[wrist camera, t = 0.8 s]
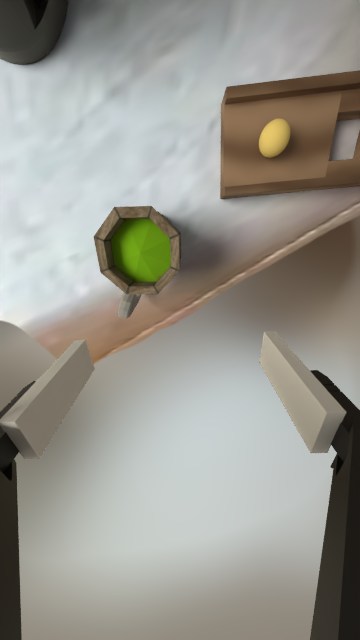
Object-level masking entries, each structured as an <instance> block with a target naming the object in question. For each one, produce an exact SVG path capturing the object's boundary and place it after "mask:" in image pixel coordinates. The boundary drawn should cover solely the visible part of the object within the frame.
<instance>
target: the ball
mask: <svg viewBox="0 0 360 640" xmlns="http://www.w3.org/2000/svg"><path fill="white" fill-rule="evenodd" d="M289 138H290V126H289V124H288V122H287V121H286V120H284V119H274V120H272V121H271V122H269V123H268V124H267V125H266V126H265V128H264V129H263V131H262V133H261V135H260V138H259V149H260V152H261V153H262V155H264V156H265V157H269V158H271V157H275V156H277V155H279V154H280V153H281V152H282V151H283V150H284V149H285V147H286V146H287V144H288V141H289Z"/></svg>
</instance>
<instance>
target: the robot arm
mask: <svg viewBox="0 0 360 640" xmlns="http://www.w3.org/2000/svg"><path fill="white" fill-rule="evenodd" d="M66 10H67V0H0V58H1V59H3V60H5V61H8V62H11V63H17V64H28V63H32V62H35V61H37V60H39V59H41V58H43V57H44V56H45V55H46V54H47V53H49V52H50V50H51V49H52V48H53V46H54V45H55V43H56V42H57V40H58V38H59V36H60V33H61V31H62V28H63V24H64V21H65V16H66ZM260 364H261V366H262V368H263V370H264V371H265V373H266V375H267V377H268V378H269V380H270V382H271V384H272V386H273V387H274V389H275V391H276V393H277V394H278V396H279V398H280V400H281V401H282V403H283V405H284V407H285V409H286V410H287V412H288V414H289V416H290V417H291V419H292V421H293V422H294V424H295V426H296V428H297V430H298V431H299V433H300V435H301V437H302V438H303V440H304V442H305V444H306V445H307V447H308V449H309V451H310V453H327V452H328V450H329V448H330V446H331V445H332V446H333V448H334V449H335V451H336V452H337V455H336V457H335V459H334V461H333V463H332V465H331V468H334V470H333V477H332V484H331V492H330V500H329V506H328V513H327V520H326V528H325V535H324V542H323V550H322V558H321V564H320V571H319V579H318V587H317V594H316V601H315V608H314V616H313V622H312V629H311V637H310V640H360V410H359V409H358V408H357V407H356V406H355V405H354V404H353V403H352V402H351V401H350V400H349V399H348V398H347V397H346V396H345V395H344V394H343V393H342V392H340V390H339V389H338V387H337V386H336V385H334V383H333V382H332V381H331V380H330V379H329V378H328V377H327V376H325V375H323V374H322V373H321V372H319V371H317V370H313V371H310V370H309V369H308V368H307V367H306V366H305V365H304V364H303V362H302V361H301V360H300V359H299V358H298V357H297V356H296V355H295V353H294V352H293V351H292V350H291V349H290V348H289V347H288V345H286V343H285V342H284V341H283V340H282V339H281V338H280V336H279V335H278V334H277V333H276V332H275V331H273V332H264V336H263V343H262V350H261V356H260ZM93 371H94V365H93V362H92V359H91V356H90V353H89V349H88V346H87V343H86V340H75V341H74V342H73V343H72V344H71V345H70V346H69V347H68V348H67V349H66V351H65V352H64V353H63V354H62V355H61V356H60V357H59V358H58V359H57V360H56V361H55V362H54V363H53V364H52V365H51V366H50V367H49V368H48V370H47V371H46V372H45V373H44V374H43V375H42V376H41V377H40V378H39V379H38V380H37V381H33V382H32V383H30V384H29V385H27V386H26V387H25V388H23V389H22V391H20V392H19V393H18V395H17V397H15V398H14V399H13V400H12V401H11V403H9V404H8V405H7V406H6V407H5V408H4V409H3V410H2V411H1V412H0V640H21V608H20V575H19V544H18V543H19V539H18V508H17V507H18V506H17V475H16V474H17V473H16V462H15V460H14V458H15V457H16V455H17V454H18V452H20V454H21V455H22V456H23V458H24V459H39V458H40V456H41V455H42V453H43V451H44V450H45V448H46V447H47V445H48V443H49V442H50V440H51V438H52V437H53V435H54V434H55V432H56V431H57V429H58V427H59V425H60V424H61V422H62V421H63V419H64V418H65V416H66V414H67V413H68V411H69V410H70V407H71V406H72V405H73V403H74V402H75V400H76V398H77V397H78V395H79V393H80V391H81V390H82V389H83V387H84V385H85V384H86V382H87V381H88V379H89V377H90V376H91V374H92V372H93Z"/></svg>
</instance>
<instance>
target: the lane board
mask: <svg viewBox="0 0 360 640" xmlns="http://www.w3.org/2000/svg"><path fill="white" fill-rule="evenodd" d="M359 118H360V71H352V72H344V73H336V74H328V75H320V76H312V77H303V78H295V79H287V80H279V81H271V82H263V83H255V84H246V85H238V86H230V87H226V91H225V94H224V97H223V101H222V104H221V191H220V199H226V198H237V197H248V196H258V195H269V194H279V193H290V192H300V191H311V190H322V189H332V188H343V187H353V186H360V132H359V136H358V140H357V144H356V148H355V152H354V157H353V159H346V160H337V161H329V156H330V151H331V146H332V141H333V136H334V131H335V125H336V121H341V120H350V119H359ZM274 119H284V120H286V121H287V122H288V124H289V126H290V138H289V141H288V144H287V146H286V147H285V149H284V150H283V151H282V152H281V153H280V154H279V155H277V156H275V157H271V158H269V157H265V156H264V155H262V153H261V152H260V149H259V138H260V135H261V133H262V131H263V129H264V128H265V126H266V125H267V124H268V123H269V122H271V121H272V120H274Z"/></svg>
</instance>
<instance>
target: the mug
mask: <svg viewBox="0 0 360 640" xmlns="http://www.w3.org/2000/svg"><path fill="white" fill-rule="evenodd" d="M94 241H95V246H96V251H97V256H98V261H99V266H100V271H101V273H102V274H103V275H104V276H106V277H107V278H108V279H109V280H110V281H112V282H113V283H114V284H115V285H116V286H118V287H119V288H120V289H121V290H122V291H123V292H124V294H123V296H122V299H121V301H120V304H119V307H118V313H117V314H118V316H120V317H122V318H128V317H129V316H130V315H131V314H132V312H133V310H134V308H135V307H136V305H137V303H138V301H139V299H140V297H141V294H158V293H159V292H160V291H161V290H162V289H163V288H164V287H165V286H166V285H167V284H168V283H169V282H170V280H171V279H172V278H173V277H174V276H175V275H176V274H177V273H178V272H179V271H180V269H179V264H180V259H181V239H180V232H179V231H178V230H177V229H176V228H175V227H174V226H173V225H172V224H171V223H170V222H169V221H168V220H167V219H166V218H165V217H164V216H163V215H161V214H160V213H159V212H157V211H156V210H155V209H154V208H153V207H152V206H140V207H114V208H113V210H112V211H111V213H110V214H109V215H108V217H107V218H106V220H105V221H104V223H103V224H102V226H101V227H100V228H99V230H98V231H97V233H96V234H95V236H94Z"/></svg>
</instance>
